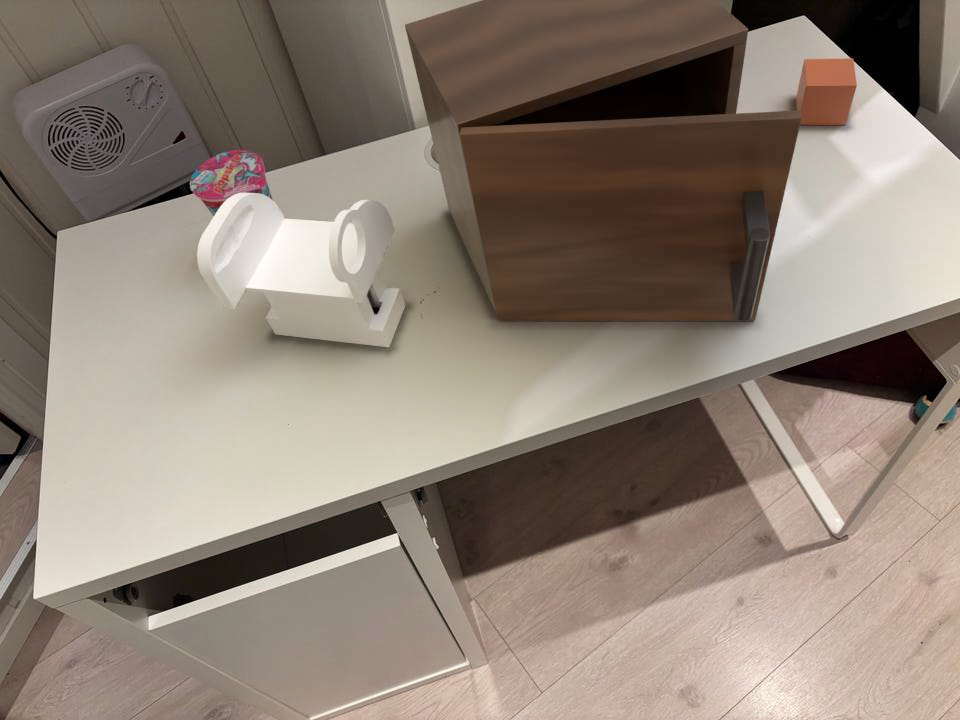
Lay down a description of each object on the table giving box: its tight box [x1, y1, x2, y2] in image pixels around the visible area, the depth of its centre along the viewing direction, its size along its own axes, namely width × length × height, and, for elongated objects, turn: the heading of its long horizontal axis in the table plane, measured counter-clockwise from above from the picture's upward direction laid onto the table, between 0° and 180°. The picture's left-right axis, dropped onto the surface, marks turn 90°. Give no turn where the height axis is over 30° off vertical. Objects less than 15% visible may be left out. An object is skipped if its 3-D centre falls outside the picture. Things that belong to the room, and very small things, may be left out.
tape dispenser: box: [196, 193, 406, 348], centre depth 76 cm, size 14×13×18 cm
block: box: [795, 57, 858, 126], centre depth 90 cm, size 6×6×6 cm
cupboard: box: [404, 0, 749, 313], centre depth 77 cm, size 18×26×24 cm
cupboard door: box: [460, 109, 802, 322], centre depth 66 cm, size 7×26×24 cm, turn 83°
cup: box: [189, 149, 274, 217], centre depth 88 cm, size 9×8×12 cm
